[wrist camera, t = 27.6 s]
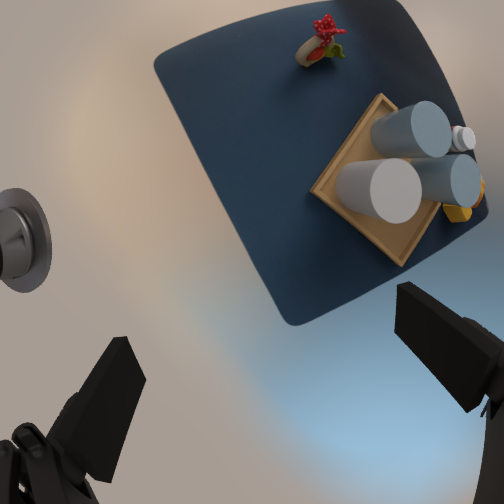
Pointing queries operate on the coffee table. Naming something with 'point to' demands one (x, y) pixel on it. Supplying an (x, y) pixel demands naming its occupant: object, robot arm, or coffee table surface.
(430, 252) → the coffee table surface
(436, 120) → the slate blue cylinder
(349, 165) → the light grey cylinder
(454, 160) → the grey-blue cylinder
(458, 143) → the pill bottle
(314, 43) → the bird rattle
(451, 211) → the toy figure
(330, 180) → the tray
